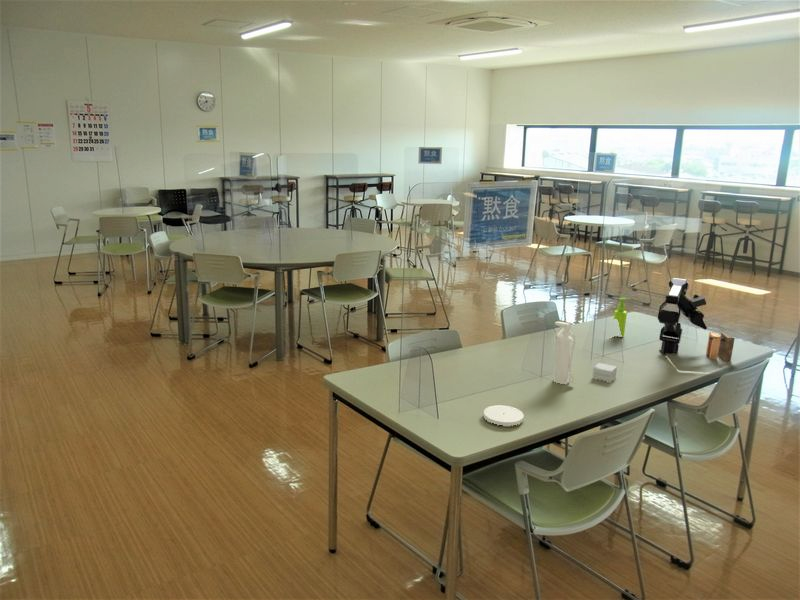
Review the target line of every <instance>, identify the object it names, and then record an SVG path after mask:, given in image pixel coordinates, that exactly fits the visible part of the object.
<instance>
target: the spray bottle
mask: <svg viewBox="0 0 800 600" xmlns="http://www.w3.org/2000/svg"><path fill="white" fill-rule="evenodd" d="M554 325H556V326H558V327H559V328H557V329H556V330H555V333H554V334H555V337H557V339H556V348H555V358H554V367H553V369H554V370H553V380H554V381H553V383H555V382H556V383H555V384H557V383H560V384H559V385H561V384H565V385H568V384H567V383H569V385H574V384H575V380H574V376H573V373H572V361H573V355H574V350H575V346H576V336H575V334H574V333H573V332H572V331H570V330H571V329H572V326H571V323H568V322H563V321H555V322H554ZM561 333H562V334H561ZM570 335H571V336H572V337H571V336H570Z"/></svg>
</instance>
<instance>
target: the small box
mask: <svg viewBox="0 0 800 600" xmlns="http://www.w3.org/2000/svg"><path fill="white" fill-rule="evenodd" d="M617 367H618V366H616V365H611V364H607V363H602V362H598V363H597V364H596V365H595V366H593V368H592V379H593V378H596V379H595V380H597V379H599V380H598V381H601V380H603V381H602V382H605V381H608V382H607V383H609V382H611V381H612V380H613V381H614V380H615V379H616V378H617V370H618V368H617ZM613 381H612V382H613ZM612 382H611V383H612Z"/></svg>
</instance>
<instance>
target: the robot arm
mask: <svg viewBox="0 0 800 600" xmlns="http://www.w3.org/2000/svg"><path fill="white" fill-rule="evenodd" d="M668 286H669V288H670V289H669V292H668V294H667V295H666V297H665V301H664V302H663V303H662V304H661V305H660V306H659V310H658V314H657V321H658V323H660V324H662V325H663V324H664V325H663V326H662V328H661V329H660V333H659V341H661V345H660V346H661V347H660V349H659V352H660V353H661V354H662V355H663V356H667V354H670V355H673V354H677V353H679V347H680V343H681V341H682V340H681V339H682V334H683V328H682V325H681V323H680V318H681V314H682V315H683V316H684V317H686V318H687V320H688V321H689V322H690V323H691V325H695V326H697V327H698V328H701V329H704V330H707V328H708V327H707V325H706V323H705V321H704V318H705V315H704V313H703V312H701V310H698V308H700V307H702V306H706V305H707V300H706V298H705V297H704V296H703V295H700V296H699V295H698V294H697V293H696V294H695V293H694V294H693V296H692V298H691V299H689V298H688V297H687V295H686V294H687V291H688V290H689V287H690V284H689V281H688V279H686V278H685V279H684V278H678V277H672V279H670V280H669V282H668ZM668 304H669V305H670V304H671V305H675V306H676V308H677V310H678V311H674V310H667V309H664V308H665V307H666V306H667V305H668Z"/></svg>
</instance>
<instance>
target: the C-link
mask: <svg viewBox="0 0 800 600" xmlns="http://www.w3.org/2000/svg"><path fill="white" fill-rule="evenodd" d="M709 337H712V338H713V339H712V340H709ZM720 339H721V335H720V334H718V332H710V331H709V333H708V339H707V346H706V352H705V356H707V357H709V358H708V359H709V360H715V361H716V360H718V357H719V356H718V351H719V345H720Z"/></svg>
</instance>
